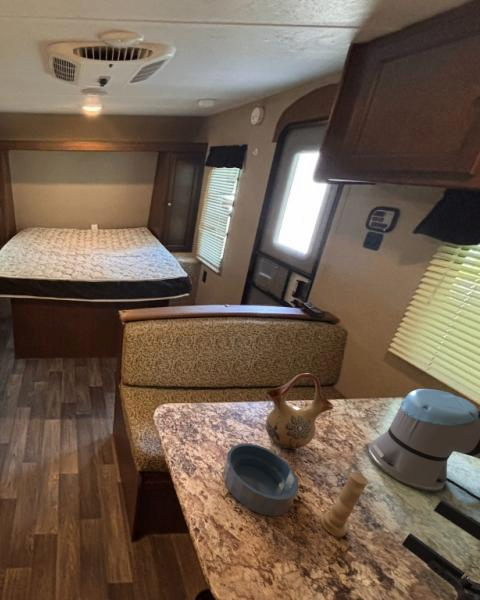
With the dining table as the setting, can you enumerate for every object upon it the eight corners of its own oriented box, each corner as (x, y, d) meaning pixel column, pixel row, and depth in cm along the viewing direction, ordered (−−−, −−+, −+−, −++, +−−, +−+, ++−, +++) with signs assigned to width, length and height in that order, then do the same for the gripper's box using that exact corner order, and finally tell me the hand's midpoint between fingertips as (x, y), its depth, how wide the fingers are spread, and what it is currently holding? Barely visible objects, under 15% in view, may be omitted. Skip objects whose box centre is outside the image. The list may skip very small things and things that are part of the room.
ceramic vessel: (256, 448, 92) (280, 377, 82) (250, 426, 100) (270, 359, 90) (321, 462, 88) (353, 390, 78) (309, 438, 96) (337, 369, 86)
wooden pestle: (343, 523, 73) (369, 474, 66) (347, 541, 69) (375, 491, 63) (320, 513, 75) (343, 465, 68) (322, 530, 71) (347, 481, 65)
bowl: (288, 476, 83) (296, 459, 81) (292, 531, 71) (301, 512, 68) (225, 451, 90) (230, 435, 88) (218, 497, 78) (224, 479, 75)
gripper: (609, 762, 36) (381, 568, 54) (638, 631, 47) (440, 505, 64) (657, 737, 33) (400, 540, 51) (676, 604, 44) (458, 479, 61)
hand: (422, 520), depth 57 cm, fingers open, 13 cm apart
